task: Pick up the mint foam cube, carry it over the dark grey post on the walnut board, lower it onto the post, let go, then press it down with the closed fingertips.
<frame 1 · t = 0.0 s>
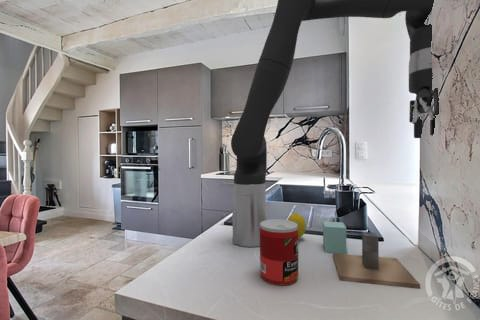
hand: (427, 136, 61), 29 cm above the countertop, tool pointing down, fingers open, 8 cm apart
mint foam cube: (334, 249, 65), on the countertop
lemon: (296, 239, 74), on the countertop
stand: (370, 270, 53), on the countertop
canned food: (279, 277, 51), on the countertop
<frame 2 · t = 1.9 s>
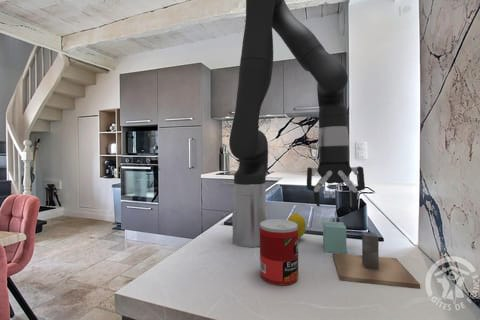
hand: (335, 206, 65), 12 cm above the countertop, tool pointing down, fingers open, 8 cm apart
nothing on the countertop moved.
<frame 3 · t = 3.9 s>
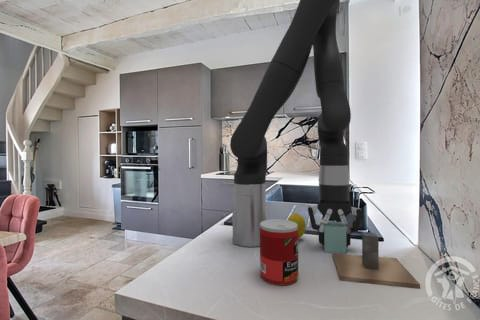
hand: (334, 245, 65), 1 cm above the countertop, tool pointing down, fingers closed on mint foam cube, 5 cm apart
mint foam cube: (334, 249, 65), on the countertop, touching gripper
everything else where it was.
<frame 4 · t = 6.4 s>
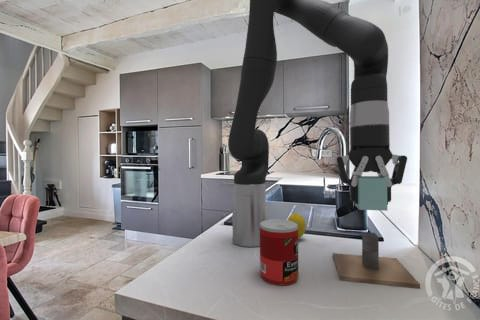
hand: (370, 203, 53), 15 cm above the countertop, tool pointing down, fingers closed on mint foam cube, 5 cm apart
mint foam cube: (370, 207, 53), point 14 cm above the countertop, touching gripper
everything else where it was.
when the fingers open (4 cm above the countertop, at t = 9.3 s): mint foam cube drops 2 cm, resting on stand.
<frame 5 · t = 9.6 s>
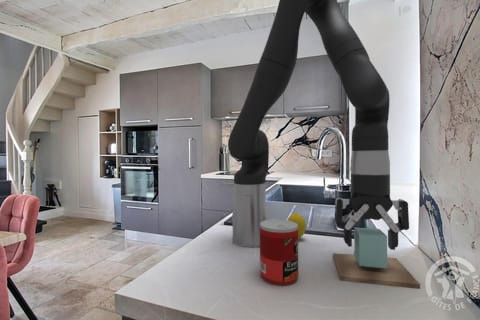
hand: (370, 246, 53), 5 cm above the countertop, tool pointing down, fingers open, 8 cm apart
mint foam cube: (369, 261, 53), point 2 cm above the countertop, touching stand
everything else where it was.
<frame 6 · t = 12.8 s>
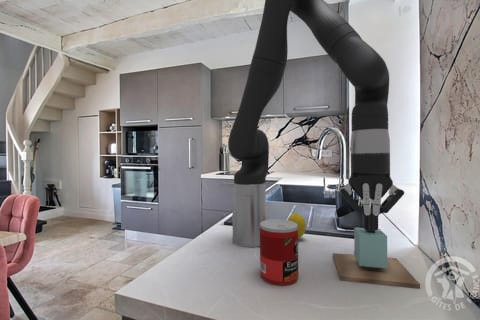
hand: (370, 231, 53), 8 cm above the countertop, tool pointing down, fingers closed
mint foam cube: (369, 261, 53), point 2 cm above the countertop, touching gripper, stand
everything else where it was.
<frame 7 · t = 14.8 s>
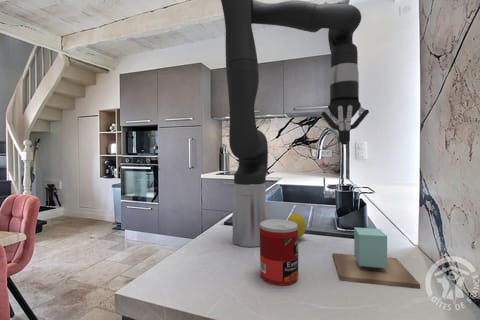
hand: (344, 144, 70), 28 cm above the countertop, tool pointing down, fingers closed
mint foam cube: (369, 261, 53), point 2 cm above the countertop, touching stand
everything else where it was.
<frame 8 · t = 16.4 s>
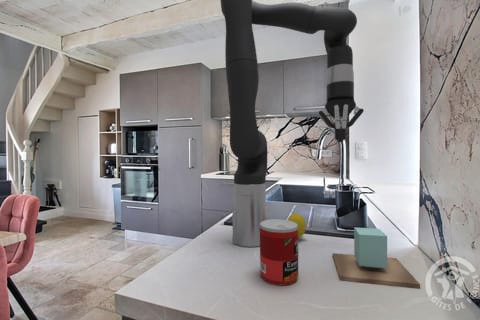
hand: (340, 141, 73), 29 cm above the countertop, tool pointing down, fingers closed
nothing on the countertop moved.
at the end: mint foam cube 0.1 cm from the stand (horizontally); mint foam cube point 1.8 cm above the countertop; the gripper is holding nothing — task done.
